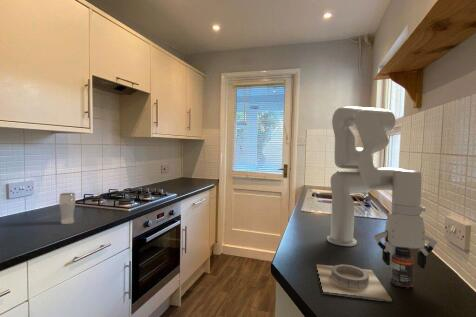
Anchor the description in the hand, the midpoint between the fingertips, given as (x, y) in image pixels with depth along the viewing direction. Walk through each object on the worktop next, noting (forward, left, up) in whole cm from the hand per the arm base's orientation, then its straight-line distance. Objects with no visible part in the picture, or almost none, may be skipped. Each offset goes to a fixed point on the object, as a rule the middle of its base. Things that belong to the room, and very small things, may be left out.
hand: (403, 265), depth 83 cm
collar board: (+3, -16, -6) cm, 18 cm away
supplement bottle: (-1, 0, -7) cm, 7 cm away
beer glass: (-29, -147, -7) cm, 150 cm away
